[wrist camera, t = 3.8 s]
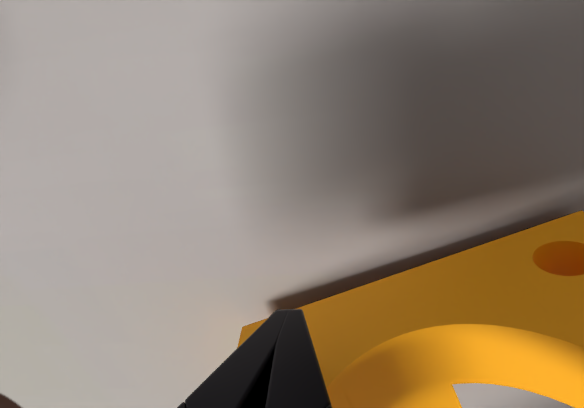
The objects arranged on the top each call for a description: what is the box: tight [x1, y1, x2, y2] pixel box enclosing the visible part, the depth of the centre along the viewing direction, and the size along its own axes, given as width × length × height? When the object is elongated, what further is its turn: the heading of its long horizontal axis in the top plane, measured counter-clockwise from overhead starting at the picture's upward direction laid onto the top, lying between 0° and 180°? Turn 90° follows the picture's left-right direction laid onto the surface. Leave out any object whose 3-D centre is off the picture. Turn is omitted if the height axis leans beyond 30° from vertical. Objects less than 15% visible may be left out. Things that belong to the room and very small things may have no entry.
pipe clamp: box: [237, 210, 584, 408], centre depth 9 cm, size 12×4×6 cm, turn 116°
